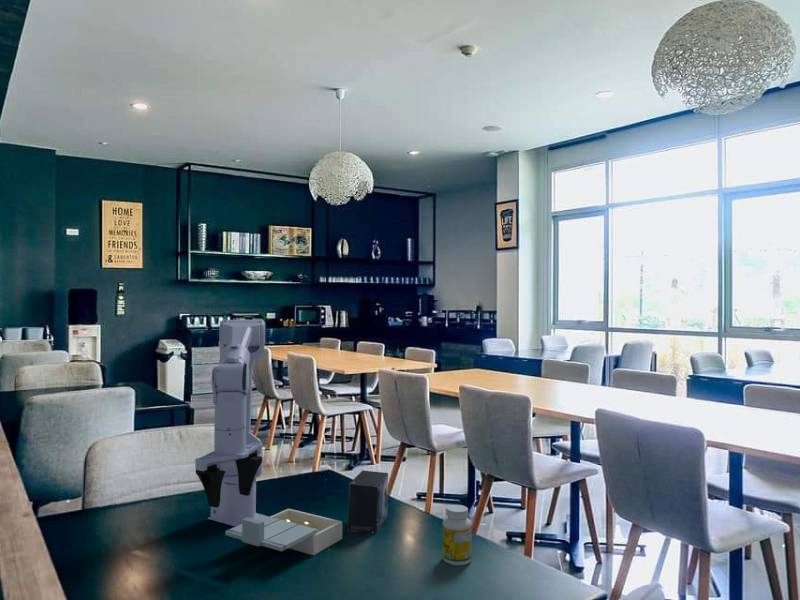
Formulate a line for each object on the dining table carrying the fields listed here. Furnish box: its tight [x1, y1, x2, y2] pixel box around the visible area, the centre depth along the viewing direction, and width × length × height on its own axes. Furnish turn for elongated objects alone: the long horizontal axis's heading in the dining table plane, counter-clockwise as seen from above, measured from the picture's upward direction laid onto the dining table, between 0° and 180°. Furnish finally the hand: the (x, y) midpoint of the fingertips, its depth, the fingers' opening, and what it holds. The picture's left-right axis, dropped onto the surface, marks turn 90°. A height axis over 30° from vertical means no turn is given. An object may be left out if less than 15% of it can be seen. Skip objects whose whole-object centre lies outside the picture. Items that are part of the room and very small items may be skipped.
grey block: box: [269, 508, 343, 556], centre depth 118 cm, size 14×9×4 cm, turn 59°
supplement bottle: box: [442, 504, 473, 567], centre depth 110 cm, size 5×5×10 cm
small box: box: [347, 470, 389, 535], centre depth 126 cm, size 11×6×10 cm, turn 168°
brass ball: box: [298, 521, 312, 528], centre depth 118 cm, size 3×3×3 cm
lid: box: [224, 514, 317, 552], centre depth 110 cm, size 14×10×4 cm
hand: (229, 500), depth 111 cm, fingers open, 7 cm apart
